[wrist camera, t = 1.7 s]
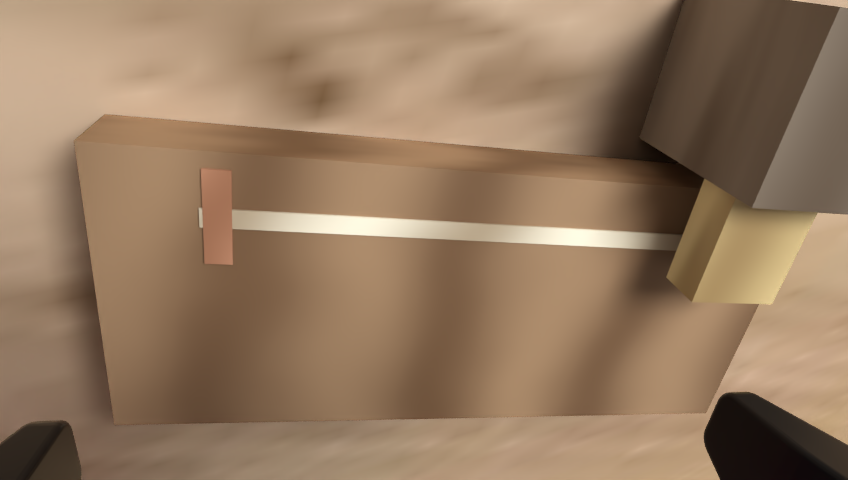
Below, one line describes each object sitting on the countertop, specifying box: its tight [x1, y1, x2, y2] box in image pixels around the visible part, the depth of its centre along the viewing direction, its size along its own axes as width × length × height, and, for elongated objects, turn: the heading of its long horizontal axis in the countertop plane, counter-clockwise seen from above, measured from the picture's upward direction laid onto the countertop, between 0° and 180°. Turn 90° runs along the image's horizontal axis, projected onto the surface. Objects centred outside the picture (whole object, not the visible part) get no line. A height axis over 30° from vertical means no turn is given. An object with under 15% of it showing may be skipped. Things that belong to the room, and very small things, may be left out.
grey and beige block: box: [639, 0, 848, 304], centre depth 18 cm, size 4×9×6 cm, turn 172°
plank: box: [74, 114, 759, 425], centre depth 20 cm, size 23×10×3 cm, turn 82°
